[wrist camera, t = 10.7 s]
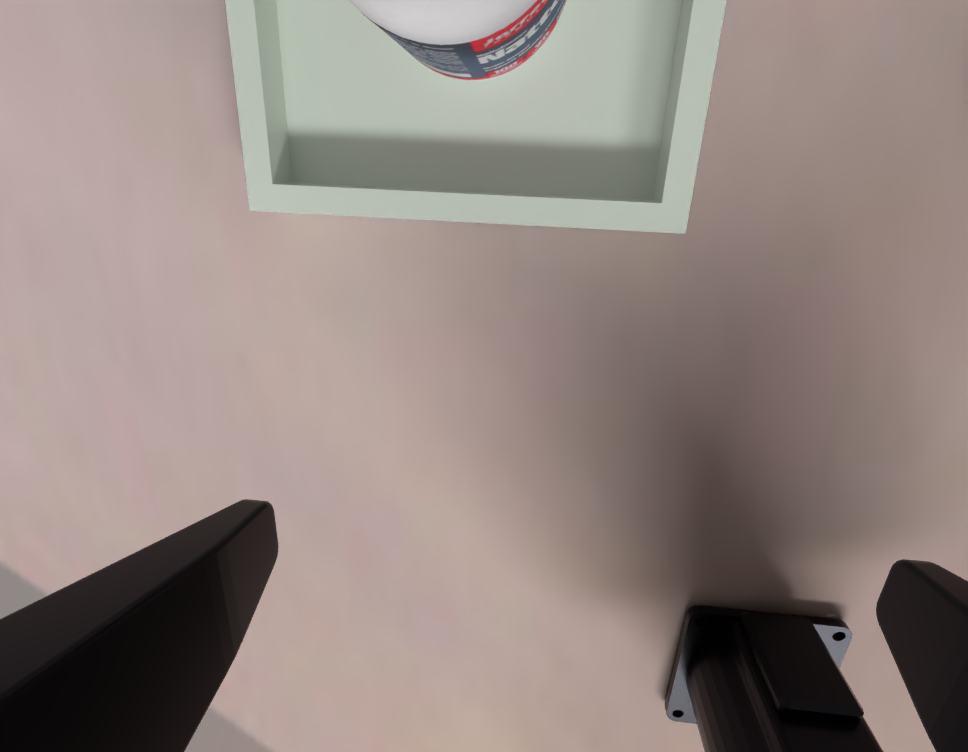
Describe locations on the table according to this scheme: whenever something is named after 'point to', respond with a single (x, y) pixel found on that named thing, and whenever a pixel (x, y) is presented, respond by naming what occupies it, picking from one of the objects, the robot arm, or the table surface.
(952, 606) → the robot arm
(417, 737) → the table surface
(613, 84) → the tray
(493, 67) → the pill bottle
